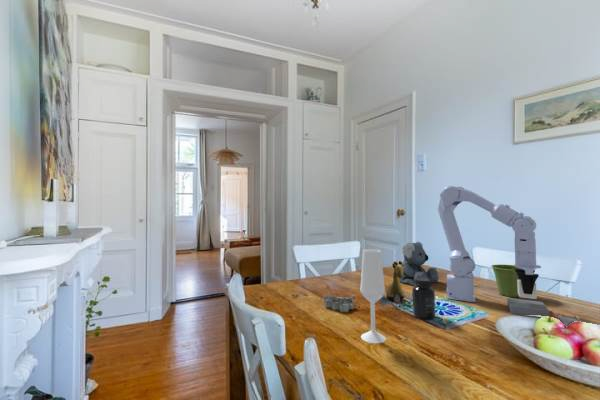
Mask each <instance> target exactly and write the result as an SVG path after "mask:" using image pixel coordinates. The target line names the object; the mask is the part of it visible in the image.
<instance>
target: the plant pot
mask: <svg viewBox="0 0 600 400" xmlns="http://www.w3.org/2000/svg"><path fill="white" fill-rule="evenodd" d="M490 266H491V268H492V270H493V273H494V276H495V281H496V286H497V289H498V294H499V295H503V296H505V297H507V298H517V297H519V295H518V285H517V279H518V280H519V278H518V275H517V273H516V271H515V270H514V269H520V268H517V267H515V264H492V265H490Z"/></svg>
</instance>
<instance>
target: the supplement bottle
mask: <svg viewBox="0 0 600 400" xmlns="http://www.w3.org/2000/svg"><path fill="white" fill-rule="evenodd" d="M415 285H416V286H413V287H412V289H411V293H412V294H411V295H412V296H411V297H413V300H412V302H413V303H412V313H413V315H414V317H415V318H417V319H422V320H432V318H433V319H435V318H436V298H435V297H436V296H435V295H436V294H435V290H434V289H433V287H432V283H431V280H430V279H427V278H416V279H415Z"/></svg>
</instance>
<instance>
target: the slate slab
mask: <svg viewBox="0 0 600 400" xmlns="http://www.w3.org/2000/svg"><path fill="white" fill-rule="evenodd" d="M506 298H507V301H506V303H507V304H506V305H507V308H508V310H509V312H510V314H512V315H518V316H524V315H541V316H550V310H549V309H548V308H547V306H546V305H545V303H544V302H543V301H539V300H536V301H535V300H530V299H529V300H528V299H523V298H522V299H520V298H514V297H506Z"/></svg>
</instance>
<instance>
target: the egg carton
mask: <svg viewBox="0 0 600 400" xmlns="http://www.w3.org/2000/svg"><path fill="white" fill-rule="evenodd" d="M322 298H323V306H324V305H325V306H324V308H326V307H328V308H331V309H332V310H333V311H335V310H337V311H338V310H339V311H340V312H341V313H344V312H345V313H348V312H349V311H350V310H354V309H355V304H354V303H355V302H354V301H355V300H356V297H354V296H347V297H346V296H345V297H342V296H334V295H329V296H328V295H327V296H323V297H322Z"/></svg>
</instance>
